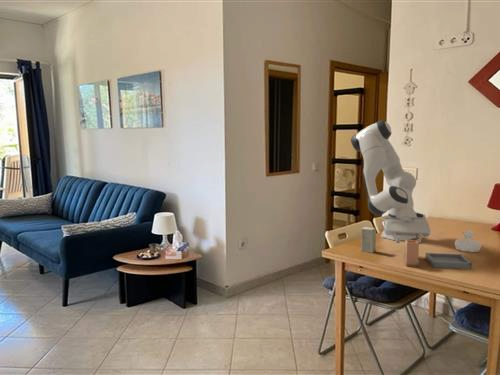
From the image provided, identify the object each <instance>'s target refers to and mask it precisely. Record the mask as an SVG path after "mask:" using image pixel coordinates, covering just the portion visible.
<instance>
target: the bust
mask: <svg viewBox="0 0 500 375" xmlns="http://www.w3.org/2000/svg"><path fill="white" fill-rule="evenodd" d="M461 234H462V235H463V236H464V238H459V239H456V240H455V241H454V246H455V249H456V250H457V251H461V252H464V253H465V252H468V253H479V252H480V250H481V248H482V243H481V242H480V241H478V240H476V239H472V238H474V235H475V234H476V233H475V232H473V231H472V230H465V231H462V232H461Z"/></svg>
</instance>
